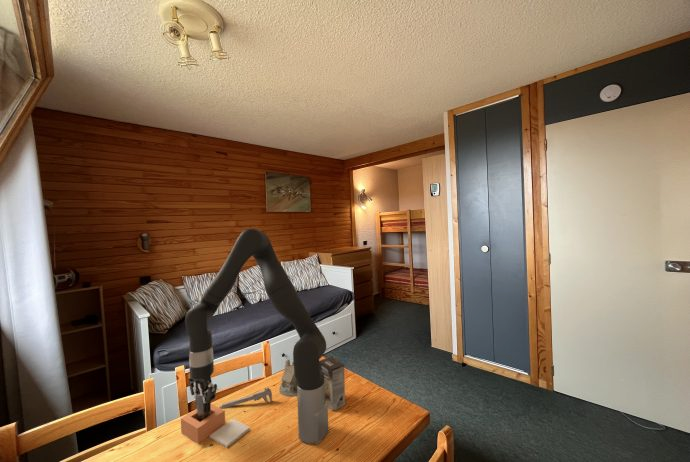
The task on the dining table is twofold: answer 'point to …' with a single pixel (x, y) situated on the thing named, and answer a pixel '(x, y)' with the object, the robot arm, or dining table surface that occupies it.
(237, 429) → the mat
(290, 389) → the ceramic cottage
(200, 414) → the dark grey bar
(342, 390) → the coffee box
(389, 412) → the dining table surface
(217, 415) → the block
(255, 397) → the caliper
